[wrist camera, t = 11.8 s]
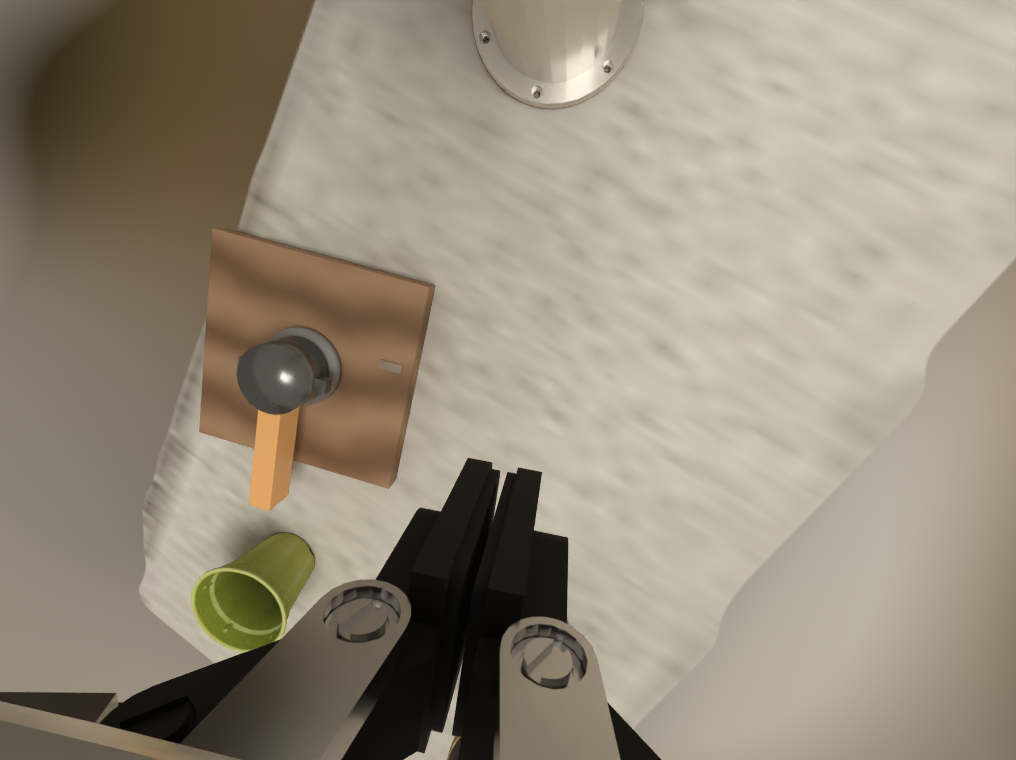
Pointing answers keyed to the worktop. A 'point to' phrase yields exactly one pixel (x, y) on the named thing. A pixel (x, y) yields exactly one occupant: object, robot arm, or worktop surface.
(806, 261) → the worktop surface
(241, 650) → the plant pot
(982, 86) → the worktop surface
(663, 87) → the worktop surface
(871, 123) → the worktop surface
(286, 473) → the portafilter
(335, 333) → the wooden cutting board
